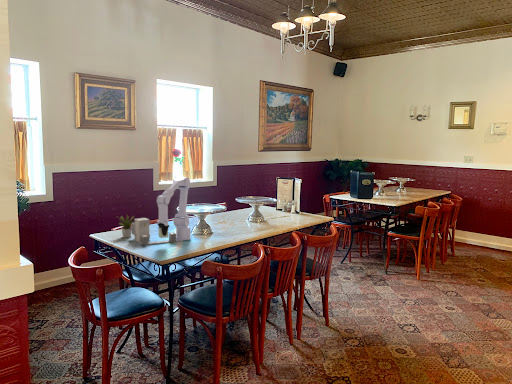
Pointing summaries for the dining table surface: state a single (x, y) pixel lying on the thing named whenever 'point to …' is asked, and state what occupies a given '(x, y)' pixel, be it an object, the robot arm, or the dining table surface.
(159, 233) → the block
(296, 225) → the dining table surface
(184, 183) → the robot arm
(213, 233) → the dining table surface
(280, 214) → the dining table surface
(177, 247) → the dining table surface
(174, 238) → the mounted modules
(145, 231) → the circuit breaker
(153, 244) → the steel rail
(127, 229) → the house plant
